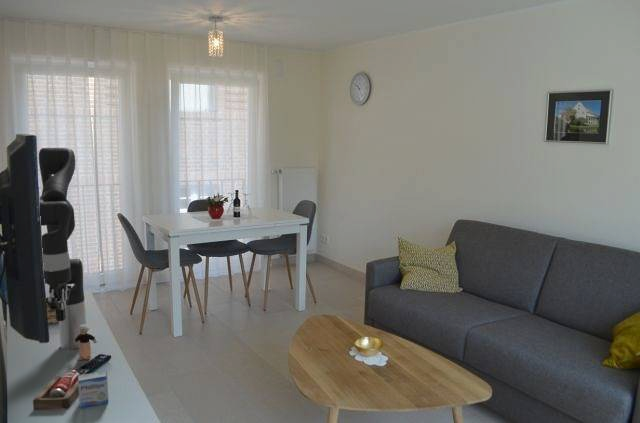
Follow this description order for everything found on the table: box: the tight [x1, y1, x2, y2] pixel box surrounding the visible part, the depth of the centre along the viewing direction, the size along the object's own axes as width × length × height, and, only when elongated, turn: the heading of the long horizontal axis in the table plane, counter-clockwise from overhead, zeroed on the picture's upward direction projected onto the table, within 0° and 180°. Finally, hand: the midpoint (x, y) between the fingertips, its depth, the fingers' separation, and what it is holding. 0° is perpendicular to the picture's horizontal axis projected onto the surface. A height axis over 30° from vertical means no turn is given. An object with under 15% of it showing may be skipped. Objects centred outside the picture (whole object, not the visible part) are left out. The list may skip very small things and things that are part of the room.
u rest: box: [32, 375, 79, 411], centre depth 157 cm, size 15×10×3 cm
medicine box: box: [78, 370, 109, 409], centre depth 154 cm, size 8×4×9 cm, turn 114°
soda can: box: [49, 369, 81, 398], centre depth 158 cm, size 5×5×12 cm
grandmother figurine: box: [74, 324, 98, 361], centre depth 183 cm, size 8×4×13 cm, turn 111°
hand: (61, 320), depth 160 cm, fingers closed
